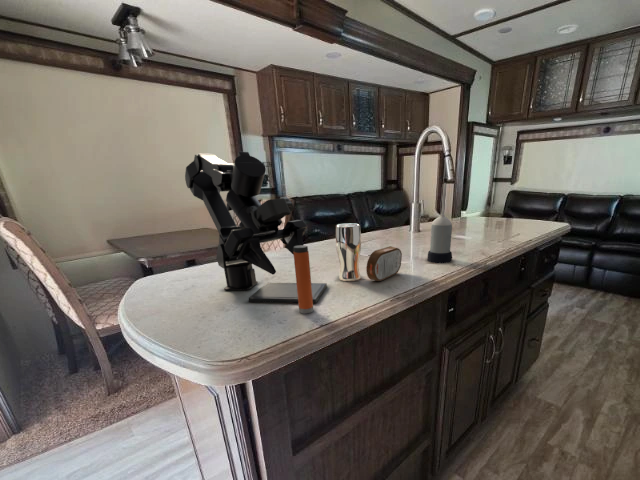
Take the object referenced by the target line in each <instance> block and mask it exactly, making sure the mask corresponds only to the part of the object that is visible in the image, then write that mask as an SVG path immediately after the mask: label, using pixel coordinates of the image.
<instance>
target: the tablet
mask: <svg viewBox="0 0 640 480" xmlns="http://www.w3.org/2000/svg"><path fill="white" fill-rule="evenodd" d="M327 286H328V284H327V283H325V282H324V283H323V282H319V283H318V282H311V287H312V299H313V304H317V302H318V301H319V299H320V298H321V296H322V295H323V294H324V292H325V290H326V289H327V288H328V287H327ZM248 303H271V304H272V303H274V304H275V303H276V304H279V303H280V304H281V303H282V304H299V303H298V293H297V283H296V282H267V283H265V284H264V285H263V286H261V287H260V288H259V289H258V290H257V291H256V292H254V293H253V294H252V295H250V296H249V297H248Z"/></svg>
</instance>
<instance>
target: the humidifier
mask: <svg viewBox="0 0 640 480" xmlns="http://www.w3.org/2000/svg"><path fill="white" fill-rule="evenodd" d="M446 194H447V182H444V183H443V188H442V196H441V198H440V200H441V208H440V210H439V211H440V213H439V216H438V217H436V218H435V219H434V220H433V221H432V223H431V227H430V244H429V245H430V246H429V251H428V252H427V262H429V263H433V264H449V263H452V259H453V253H452V251H451V245H452V232H453V225H452V224H453V223H452V221H451V220H450V219H449V218H448V217H446V216H445V210H446V201H445V200H446Z"/></svg>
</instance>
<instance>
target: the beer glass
mask: <svg viewBox="0 0 640 480" xmlns="http://www.w3.org/2000/svg"><path fill="white" fill-rule="evenodd" d="M361 231H362V230H361V224H360V223H350V222H349V223H348V222H347V223H338V224H336V225H335V246H336V252H337V257H338V262H339V276H338V278H339V280H340V281H343V282H356V281H359V280H360V279H361V273H360V272H361V271H360V257H361V249H362V232H361Z"/></svg>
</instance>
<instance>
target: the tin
mask: <svg viewBox="0 0 640 480" xmlns="http://www.w3.org/2000/svg"><path fill="white" fill-rule="evenodd" d="M402 257H403V253H402V250H401V249H400V248H399V247H395V246H392V245H390V246H386V247H382V248H379V249H376V250H374V251H373V252H372V253H371V254H370V255H369V257H368V259H367V261H366V267H365V269H366V270H365V271H366V275H367V278H368V279H369V280H370V281H376V282H382V281H384V280H387V279H389V278H391V277H393V276H395V275H397V274H398V272H399V271H400V269H401V266H402V260H403V259H402Z"/></svg>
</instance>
